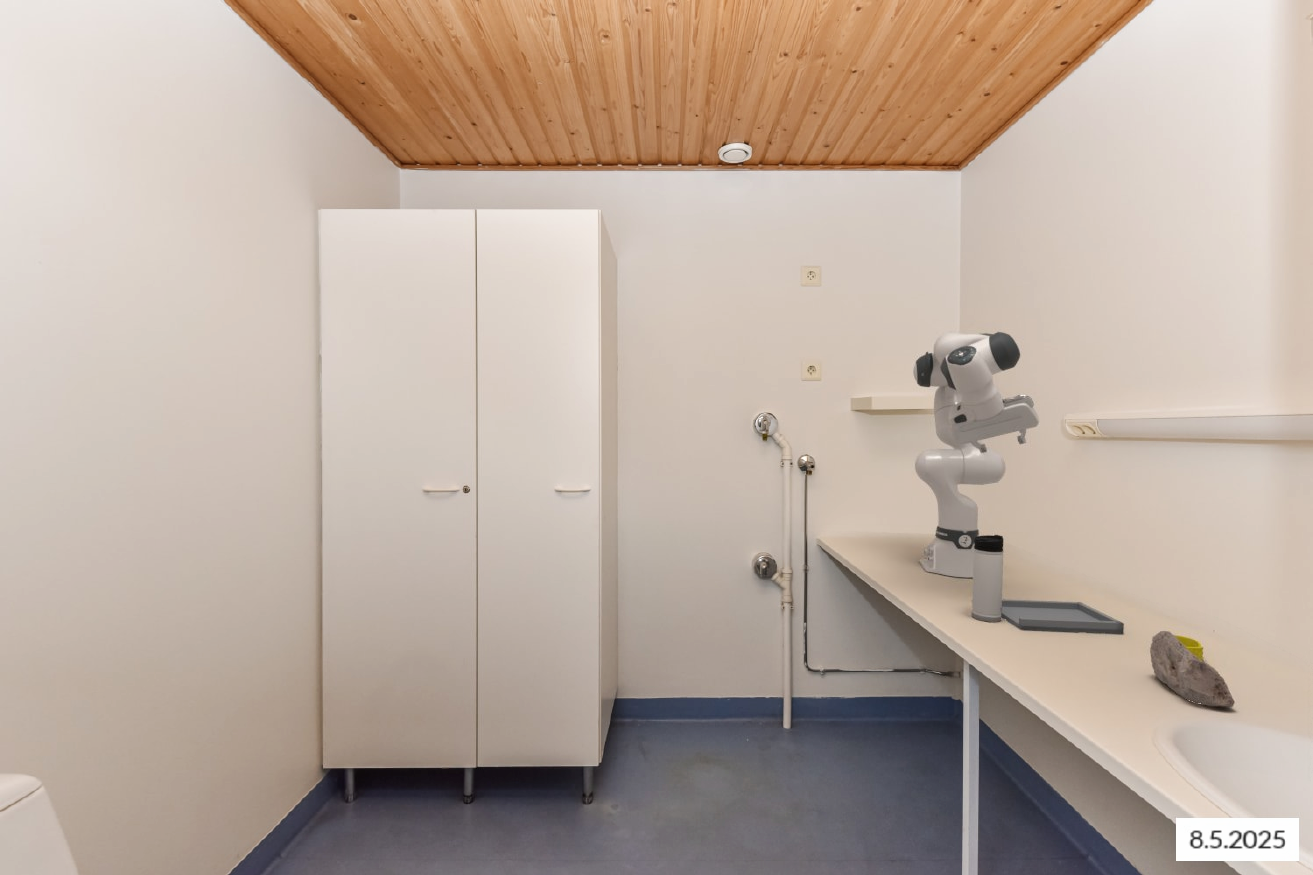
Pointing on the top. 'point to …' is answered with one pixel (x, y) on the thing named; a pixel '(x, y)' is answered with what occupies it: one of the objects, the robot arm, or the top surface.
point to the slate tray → (1058, 617)
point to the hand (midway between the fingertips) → (1003, 447)
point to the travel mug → (987, 578)
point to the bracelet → (1192, 646)
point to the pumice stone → (1187, 672)
